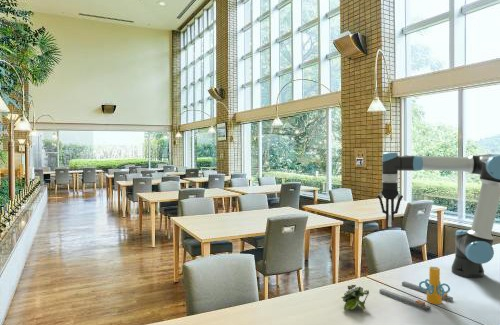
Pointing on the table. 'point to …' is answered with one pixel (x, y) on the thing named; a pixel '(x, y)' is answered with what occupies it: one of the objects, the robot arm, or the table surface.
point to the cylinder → (434, 286)
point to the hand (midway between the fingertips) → (389, 226)
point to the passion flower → (354, 297)
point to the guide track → (415, 303)
